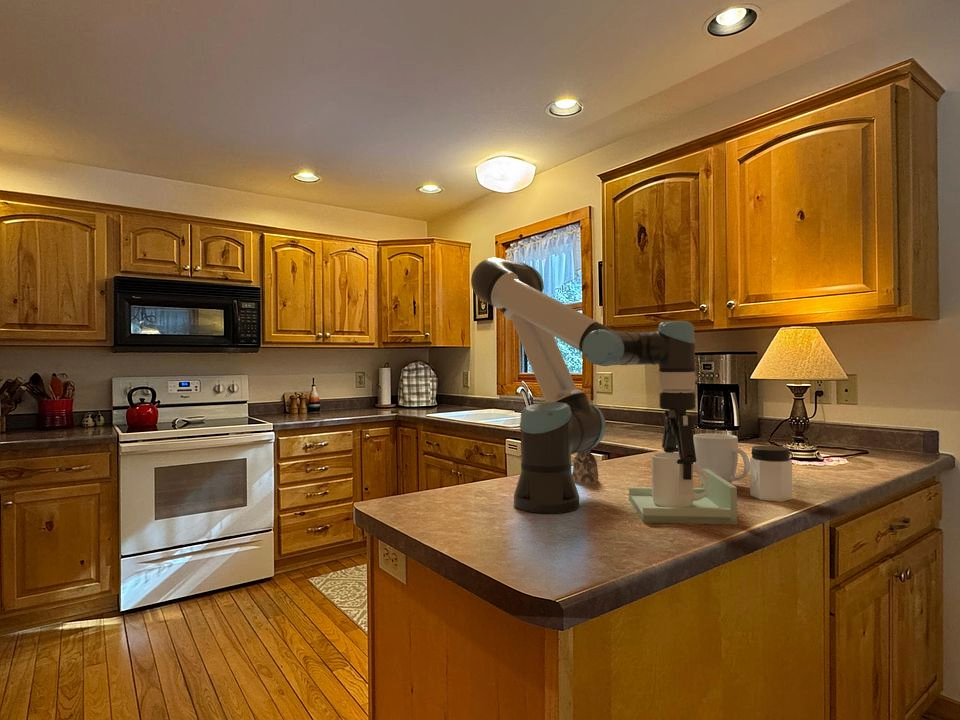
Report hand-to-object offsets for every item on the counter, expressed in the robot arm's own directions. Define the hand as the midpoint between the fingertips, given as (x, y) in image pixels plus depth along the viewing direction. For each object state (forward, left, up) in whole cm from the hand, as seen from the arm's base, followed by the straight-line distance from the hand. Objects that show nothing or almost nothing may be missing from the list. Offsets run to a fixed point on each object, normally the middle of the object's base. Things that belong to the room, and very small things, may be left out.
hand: (678, 487), depth 124 cm
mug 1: (0, -1, -4) cm, 4 cm away
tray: (0, 0, -5) cm, 5 cm away
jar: (+25, +14, -5) cm, 29 cm away
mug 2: (+17, +27, -5) cm, 32 cm away
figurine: (-18, +30, -5) cm, 35 cm away
